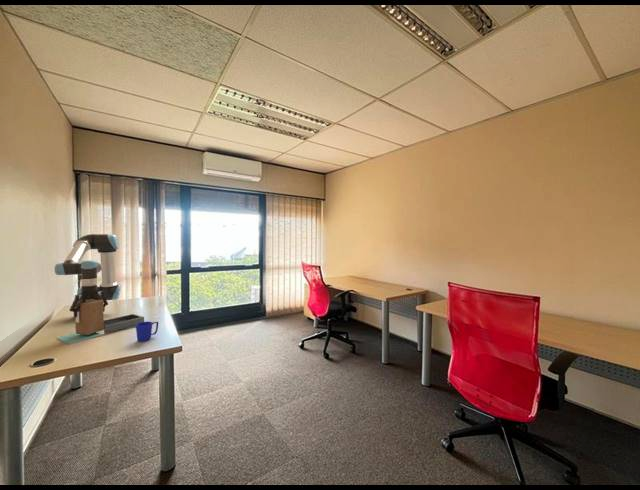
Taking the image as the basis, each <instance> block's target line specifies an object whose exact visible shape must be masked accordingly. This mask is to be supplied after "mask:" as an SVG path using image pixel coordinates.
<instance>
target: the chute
mask: <svg viewBox="0 0 640 490" xmlns="http://www.w3.org/2000/svg"><path fill="white" fill-rule="evenodd" d="M103 322H104V329H103V330H104V333H103V334H104V335H107V334H111V333H115V332H119V331H122V330H126V329H129V328H134V327H136V324H138V323H141V322H145V316H142V315H138V314H135V313H132V314H126V315H122V316H121V315H120V316H117V317H113V318H109V319H103Z"/></svg>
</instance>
